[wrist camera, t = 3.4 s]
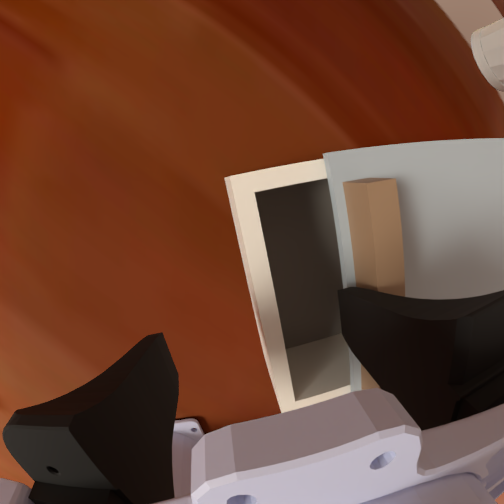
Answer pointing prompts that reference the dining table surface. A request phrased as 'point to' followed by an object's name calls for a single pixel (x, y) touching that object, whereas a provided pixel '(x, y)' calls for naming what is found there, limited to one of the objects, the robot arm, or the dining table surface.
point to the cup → (490, 52)
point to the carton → (293, 278)
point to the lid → (419, 221)
